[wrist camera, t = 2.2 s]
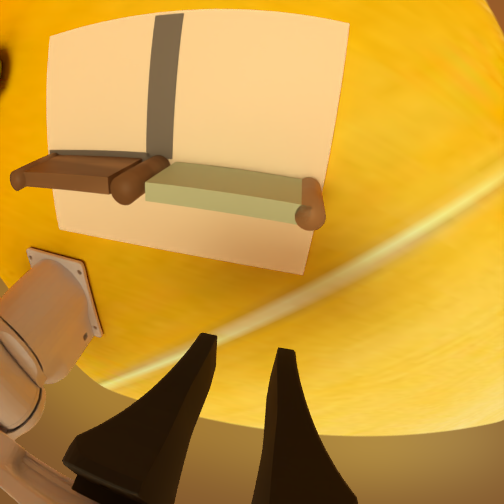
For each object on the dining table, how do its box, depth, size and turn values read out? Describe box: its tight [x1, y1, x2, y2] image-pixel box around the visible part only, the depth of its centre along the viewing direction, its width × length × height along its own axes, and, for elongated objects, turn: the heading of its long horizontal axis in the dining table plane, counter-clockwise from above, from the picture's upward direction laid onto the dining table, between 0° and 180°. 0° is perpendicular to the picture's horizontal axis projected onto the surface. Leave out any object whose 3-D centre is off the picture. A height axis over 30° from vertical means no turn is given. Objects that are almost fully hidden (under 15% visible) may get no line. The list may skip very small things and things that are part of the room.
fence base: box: [10, 153, 170, 205], centre depth 16 cm, size 2×11×4 cm, turn 83°
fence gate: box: [145, 162, 326, 231], centre depth 15 cm, size 9×1×4 cm, turn 84°
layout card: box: [47, 9, 349, 275], centre depth 17 cm, size 16×20×1 cm
